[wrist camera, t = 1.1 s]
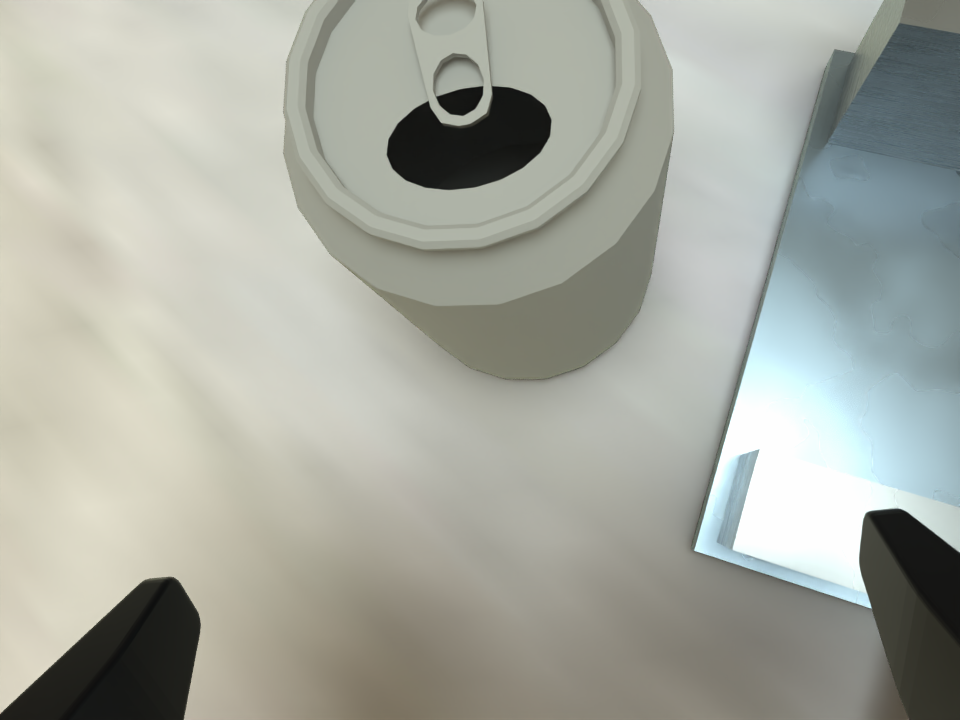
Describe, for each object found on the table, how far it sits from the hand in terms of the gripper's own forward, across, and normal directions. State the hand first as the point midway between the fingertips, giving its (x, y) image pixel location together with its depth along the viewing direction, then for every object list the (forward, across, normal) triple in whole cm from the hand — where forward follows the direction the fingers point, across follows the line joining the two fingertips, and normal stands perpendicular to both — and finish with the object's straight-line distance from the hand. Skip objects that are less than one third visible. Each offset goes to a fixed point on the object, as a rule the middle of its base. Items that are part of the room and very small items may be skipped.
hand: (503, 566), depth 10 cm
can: (+15, 0, +4) cm, 16 cm away
